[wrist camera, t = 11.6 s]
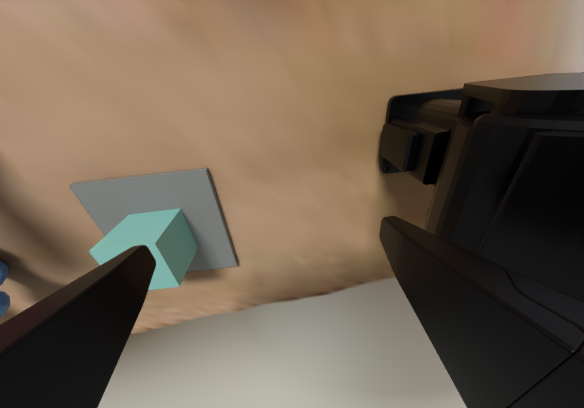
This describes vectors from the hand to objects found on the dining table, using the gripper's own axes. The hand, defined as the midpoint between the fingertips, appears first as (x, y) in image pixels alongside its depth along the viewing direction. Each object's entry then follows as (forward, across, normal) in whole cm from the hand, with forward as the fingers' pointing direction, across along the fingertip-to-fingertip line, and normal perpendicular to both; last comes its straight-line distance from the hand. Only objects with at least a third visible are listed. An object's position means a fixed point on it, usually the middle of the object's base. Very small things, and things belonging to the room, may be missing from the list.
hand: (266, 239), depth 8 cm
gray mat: (+12, +12, +7) cm, 18 cm away
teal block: (+11, +12, +7) cm, 18 cm away
